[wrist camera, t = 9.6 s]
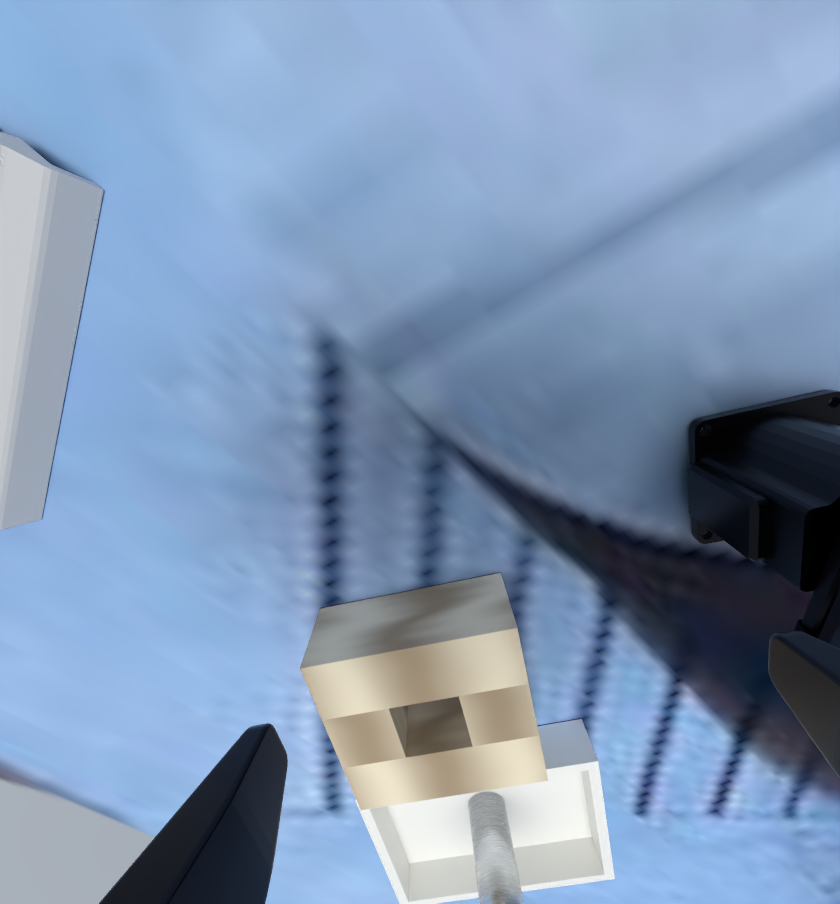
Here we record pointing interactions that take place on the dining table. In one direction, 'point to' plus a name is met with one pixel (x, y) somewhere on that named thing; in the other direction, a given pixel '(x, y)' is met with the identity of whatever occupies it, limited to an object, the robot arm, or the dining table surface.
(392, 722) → the block
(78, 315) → the hinge
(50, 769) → the dining table surface
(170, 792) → the dining table surface
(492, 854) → the pin
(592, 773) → the tray
